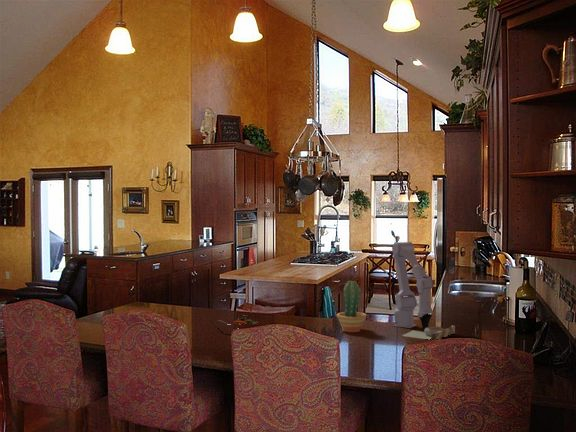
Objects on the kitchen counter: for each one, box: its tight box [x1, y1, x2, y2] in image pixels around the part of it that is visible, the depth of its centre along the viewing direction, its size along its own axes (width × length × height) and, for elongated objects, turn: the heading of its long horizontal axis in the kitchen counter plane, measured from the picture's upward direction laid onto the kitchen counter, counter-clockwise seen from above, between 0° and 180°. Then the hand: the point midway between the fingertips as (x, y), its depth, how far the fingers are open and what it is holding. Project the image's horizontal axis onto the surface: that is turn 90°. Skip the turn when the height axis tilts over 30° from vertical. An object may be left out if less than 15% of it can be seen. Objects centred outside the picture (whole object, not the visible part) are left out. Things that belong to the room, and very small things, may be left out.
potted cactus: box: [336, 280, 367, 333], centre depth 273 cm, size 15×15×25 cm
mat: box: [401, 330, 432, 341], centre depth 260 cm, size 14×14×1 cm
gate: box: [431, 326, 453, 341], centre depth 252 cm, size 18×1×3 cm, turn 136°
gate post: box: [450, 324, 456, 334], centre depth 260 cm, size 2×2×4 cm
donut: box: [423, 326, 445, 336], centre depth 259 cm, size 10×4×10 cm
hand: (425, 329), depth 264 cm, fingers closed, pressing on donut
